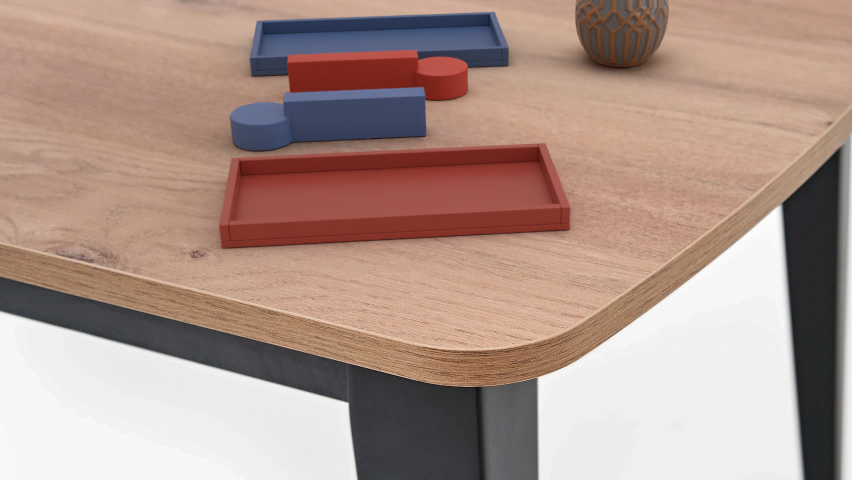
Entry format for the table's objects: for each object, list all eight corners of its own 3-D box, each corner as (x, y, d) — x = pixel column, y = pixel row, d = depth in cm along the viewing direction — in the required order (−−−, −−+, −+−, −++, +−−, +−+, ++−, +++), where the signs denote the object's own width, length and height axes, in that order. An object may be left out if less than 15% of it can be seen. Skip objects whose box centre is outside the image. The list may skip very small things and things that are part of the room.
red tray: (221, 248, 65) (218, 225, 65) (233, 178, 73) (231, 157, 72) (569, 229, 67) (570, 206, 66) (545, 163, 75) (545, 142, 74)
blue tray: (251, 76, 89) (249, 57, 88) (258, 37, 97) (256, 20, 96) (508, 65, 90) (508, 47, 90) (494, 28, 98) (494, 11, 98)
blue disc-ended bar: (423, 120, 81) (422, 80, 80) (427, 143, 78) (426, 102, 76) (234, 128, 80) (230, 88, 79) (230, 152, 77) (225, 111, 75)
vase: (682, 67, 90) (691, -52, 86) (598, 79, 88) (604, -42, 83) (638, 39, 96) (644, -73, 91) (558, 50, 93) (561, -64, 89)
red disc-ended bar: (289, 106, 83) (286, 68, 82) (291, 86, 87) (288, 48, 86) (470, 99, 84) (470, 60, 83) (465, 79, 88) (464, 42, 87)
